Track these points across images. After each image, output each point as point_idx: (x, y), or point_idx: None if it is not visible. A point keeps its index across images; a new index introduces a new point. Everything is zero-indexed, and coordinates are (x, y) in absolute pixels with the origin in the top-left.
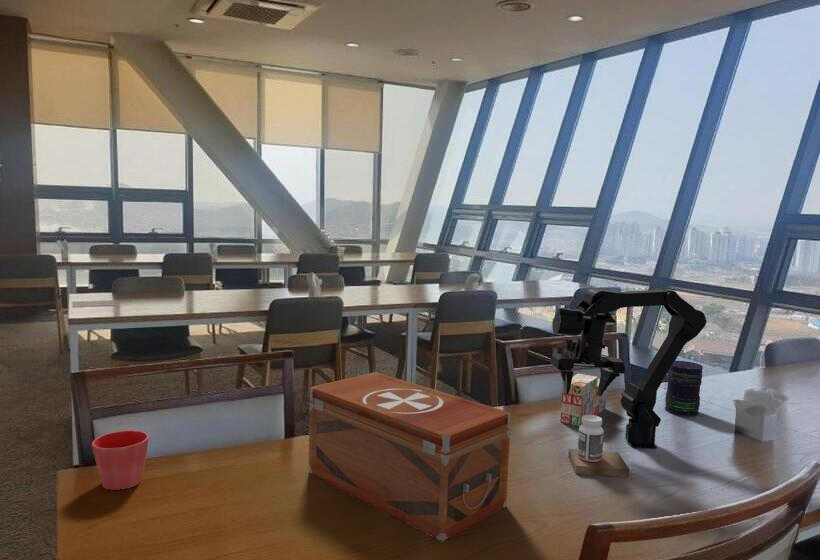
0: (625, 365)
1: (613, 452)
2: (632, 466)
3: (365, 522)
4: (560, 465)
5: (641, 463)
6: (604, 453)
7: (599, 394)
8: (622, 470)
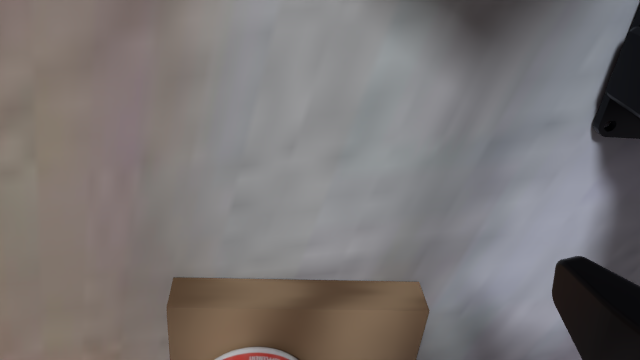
0: None
1: (402, 317)
2: (454, 330)
3: None
4: (123, 357)
5: (513, 301)
6: (348, 333)
7: (564, 317)
8: None
